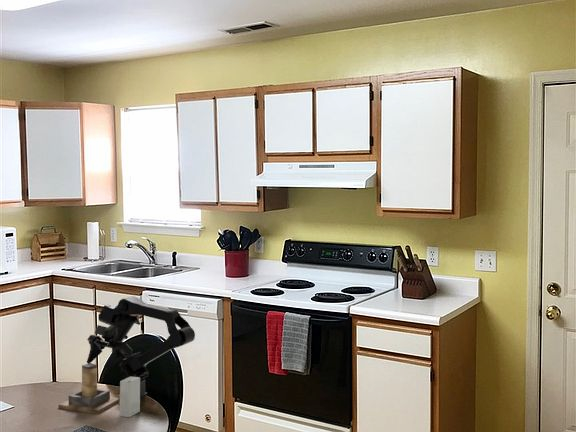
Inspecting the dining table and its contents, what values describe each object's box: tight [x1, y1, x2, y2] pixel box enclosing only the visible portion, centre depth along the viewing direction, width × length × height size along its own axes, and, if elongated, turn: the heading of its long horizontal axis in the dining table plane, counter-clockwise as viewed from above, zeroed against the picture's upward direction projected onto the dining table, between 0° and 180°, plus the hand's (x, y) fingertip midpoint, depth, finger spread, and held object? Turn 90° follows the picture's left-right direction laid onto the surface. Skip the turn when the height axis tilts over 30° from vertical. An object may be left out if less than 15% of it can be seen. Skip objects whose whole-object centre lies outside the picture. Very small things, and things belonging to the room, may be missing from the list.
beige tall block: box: [81, 362, 98, 398], centre depth 229 cm, size 4×4×13 cm
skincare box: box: [119, 376, 141, 418], centre depth 221 cm, size 6×4×12 cm
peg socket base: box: [58, 388, 120, 415], centre depth 229 cm, size 16×13×4 cm
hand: (96, 365), depth 230 cm, fingers open, 9 cm apart
